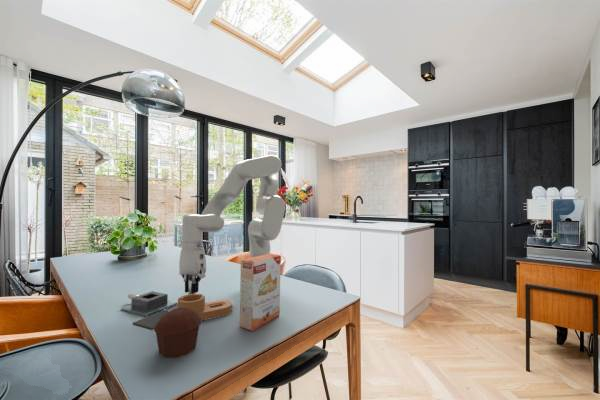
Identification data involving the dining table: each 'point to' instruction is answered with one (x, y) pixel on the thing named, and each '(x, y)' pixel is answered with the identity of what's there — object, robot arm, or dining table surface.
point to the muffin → (177, 332)
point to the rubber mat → (150, 320)
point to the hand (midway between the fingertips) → (191, 291)
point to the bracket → (205, 306)
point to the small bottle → (189, 283)
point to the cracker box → (259, 290)
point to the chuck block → (148, 303)
